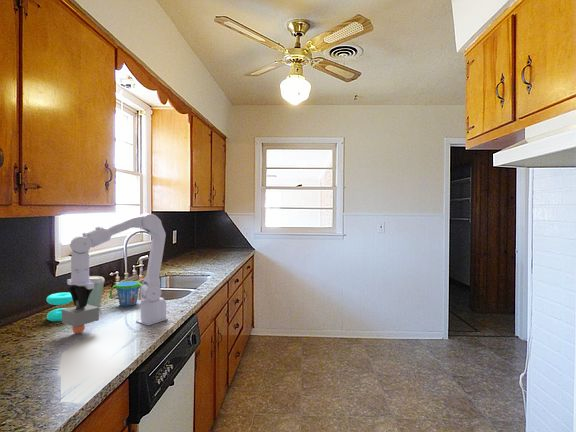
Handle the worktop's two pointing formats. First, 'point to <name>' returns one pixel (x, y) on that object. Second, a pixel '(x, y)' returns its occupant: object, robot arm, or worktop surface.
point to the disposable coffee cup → (96, 291)
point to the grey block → (80, 315)
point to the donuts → (58, 300)
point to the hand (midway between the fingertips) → (80, 306)
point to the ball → (78, 329)
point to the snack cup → (127, 292)
